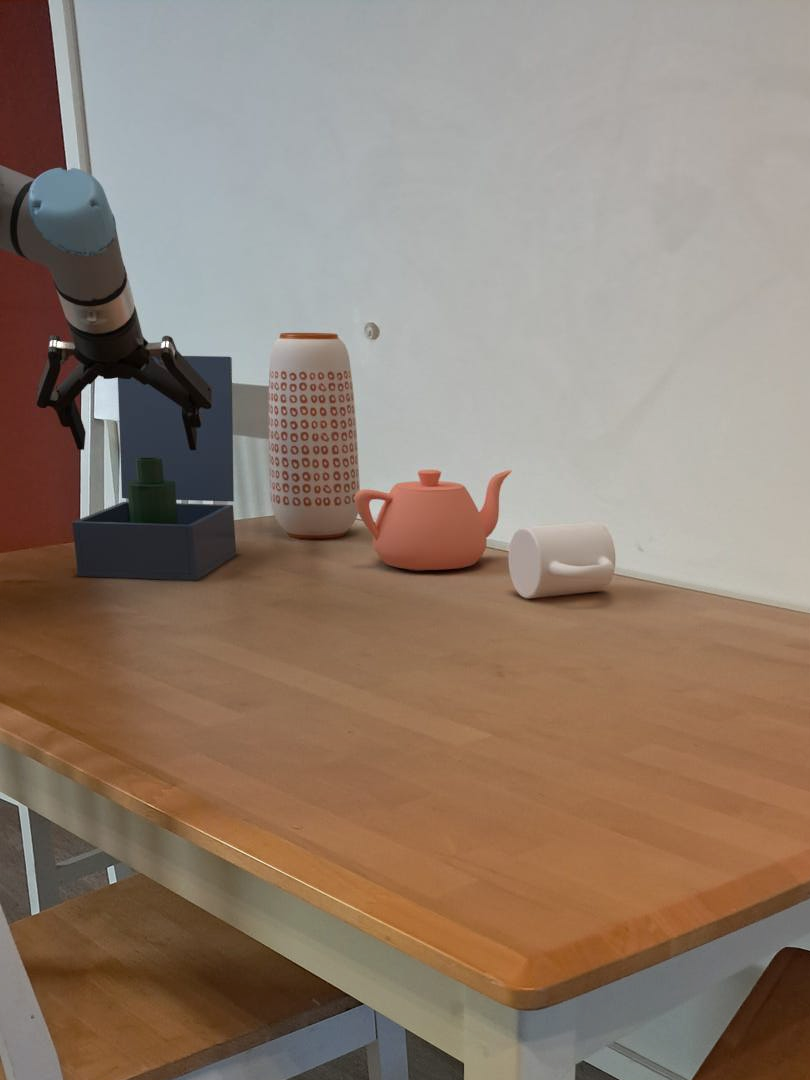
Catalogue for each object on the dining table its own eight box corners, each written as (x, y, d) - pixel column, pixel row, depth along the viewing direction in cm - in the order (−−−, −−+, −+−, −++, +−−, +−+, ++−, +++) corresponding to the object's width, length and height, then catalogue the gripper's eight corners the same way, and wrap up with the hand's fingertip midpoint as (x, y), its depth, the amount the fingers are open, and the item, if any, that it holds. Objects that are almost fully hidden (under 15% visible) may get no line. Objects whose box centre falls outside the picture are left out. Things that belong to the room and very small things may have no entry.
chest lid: (229, 356, 169) (244, 363, 176) (116, 354, 171) (134, 361, 177) (232, 501, 174) (245, 502, 180) (121, 498, 175) (139, 499, 182)
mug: (506, 591, 157) (508, 522, 154) (579, 584, 162) (582, 517, 158) (557, 612, 147) (560, 539, 144) (633, 604, 151) (637, 533, 148)
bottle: (127, 564, 166) (117, 460, 161) (143, 555, 171) (134, 455, 166) (172, 565, 165) (163, 461, 160) (187, 557, 171) (179, 456, 166)
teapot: (490, 549, 183) (492, 461, 178) (531, 569, 170) (534, 474, 165) (342, 558, 175) (339, 465, 170) (372, 579, 163) (370, 480, 158)
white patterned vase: (353, 542, 186) (347, 335, 175) (264, 541, 187) (252, 334, 176) (366, 527, 199) (361, 332, 187) (282, 526, 199) (272, 331, 188)
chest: (196, 580, 161) (192, 525, 158) (78, 576, 162) (71, 522, 160) (236, 554, 177) (233, 504, 174) (128, 551, 178) (123, 501, 176)
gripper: (-22, 336, 135) (32, 465, 155) (215, 339, 137) (238, 466, 157) (-15, 282, 138) (37, 415, 158) (218, 285, 140) (240, 417, 160)
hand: (137, 441), depth 157 cm, fingers open, 13 cm apart
